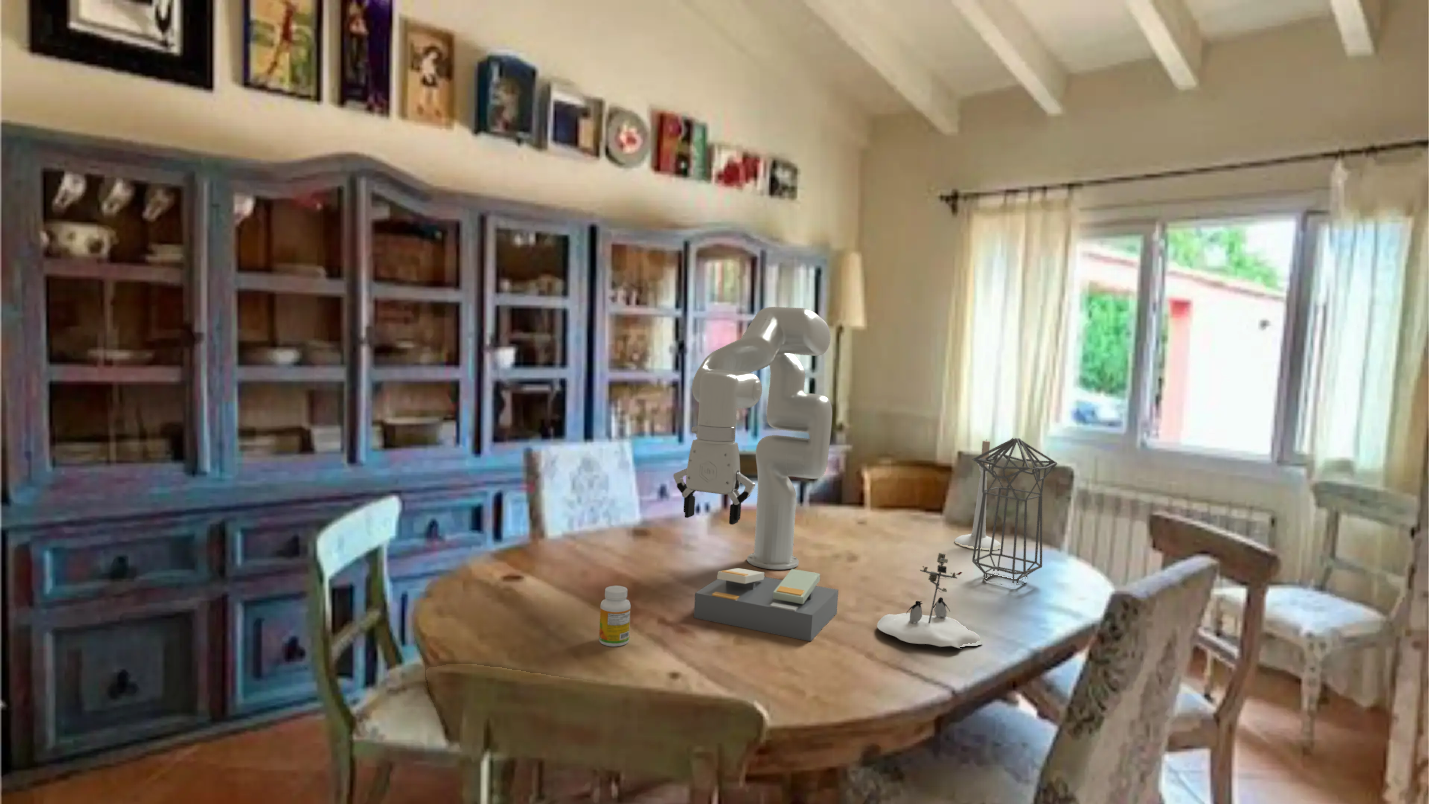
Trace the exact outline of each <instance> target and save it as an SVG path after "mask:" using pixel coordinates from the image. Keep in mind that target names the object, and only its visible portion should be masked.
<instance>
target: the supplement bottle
mask: <svg viewBox="0 0 1429 804" xmlns="http://www.w3.org/2000/svg"><path fill="white" fill-rule="evenodd" d="M627 598H628V588H627V587H626V586H622V585H610V586H607V587H605V589H604V599H603V600H602V601H601V603H600V607H599V609H600V611H599V630H598V631H599V633H598V641H599V643H600V644H602V645H603V646H606V647H613V648H614V647H621V646H625V645H627V644H628V643H629V642H630V626H631V607H632V606H631V602H630V600H629V599H627Z"/></svg>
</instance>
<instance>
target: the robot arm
mask: <svg viewBox="0 0 1429 804" xmlns="http://www.w3.org/2000/svg"><path fill="white" fill-rule="evenodd" d="M830 342H831V331H830V327H829V325H828V323H827V322H826V321H825V320H824V319H823V318H822V317H821V316H819V315H818V314H817V313H816V312H814V311H812V310H810V309H808V308H803V307H789V306H788V307H782V306H767V307H764V308H762V309H760V310H759V311H758V312H757V313H756V314H755V316H754V318H753V319H752V320H751V322H750V324H749V325H748V327H747V328H746V330H745V332H744V333H743V335H742V336H741V338H740V339H738V340H735V341H732V342H730V343H729V344H726V345H725V346H722V347H719V348H717V349H716V350H713V351H712V352H711V353H709V355H707V356H706V357H705V359H704V360H703V361H702V363H701V364H700V365H699V367H698V369H697V371H696V372H695V375H694V377H693V379H692V385H691V392H692V395H693V398H694V399H695V401H696V402H697V403H698V415H697V416H698V417H697V418H698V419H697V424H696V426H692V427H691V434H695V435H696V436H695V438H696V439H693V440H692V443H691V445H690V446H691V447H690V448H689V449H690V450H689V455H688V461H687V467H686V468H684V469H682V470H680V471H677V472H675V473H673V475H672V477H673V479H674V482H675V484H676V488H677V489H678V490H679V492H680V493H681V496H682V497H683V512H684V518H685V519H686V518H687V519H688V518H689V519H690V518H691V517H693V516H695V507H696V506H695V505H696V496H695V495H694V493H696V492H703V493H710V494H716V495H728V497H729V499H730V501H731V502H732V504H730V505H729V506H730V507H729V519H728V521H729V522H728V524H729V525H730V526H731V525H732V526H734V525H735V524H737V523H739V521H740V519H741V512H742V510H741V509H742V503H744V501H745V500H747V499H748V498H749V497H750V496H751V494H752V492H753V490H755V487H756V483H755V482H754V481H752V480H751V479H749V478H748V477H747V476H745V475H744V474H742V473H741V460H740V459H741V458H740V449H739V443H738V442H736V427H737V413H738V412H737V409H749V408H750V409H751V408H752V407H755V405H757V403H759V401H760V399H761V397H762V393H763V386H762V382H761V380H760V378H759V377H758V376H757V374H754V373H753V372H755V371H756V372H757V371H760V370H763V369H765V368H768V366H769V370H770V371H769V372H770V373H769V374H770V376H769V377H770V378H769V379H770V380H769V387H768V388H769V389H768V398H767V404H766V405H767V406H766V421H767V424H768V425H769V426H770V427H771V428H773V429H775V430H779V431H780V430H781V431H786V432H787V431H788V432H797V433H807V434H808V435H809V437H808V438H807V437H806V438H805V437H799V436H798V437H795V436H789V435H788V436H787V435H777V434H776V435H775V434H773V435H767V436H764V437H762V438H760V440H759V441H758V442H757V445H756V448H755V461H756V470H757V471H756V472H757V497H756V498H757V499H756V513H755V516H756V517H755V529H754V530H755V532H754V546H753V547H754V549H753V551H754V552H753V553H750V554H748V555H747V563H748V564H750V565H752V566H753V567H757V568H761V569H766V570H767V569H768V570H779V571H782V570H791V569H795V568H796V567H798V566H799V562H800V561H799V559H798V558H797V557H796V556H794V554H793V553H794V546H795V544H794V539H795V537H794V536H795V524H796V523H795V521H796V507H797V505H796V504H797V503H796V502H797V492H796V488H795V486H794V484H793V482H792V481H791V479H790V477H794V478H795V477H796V478H801V479H802V478H804V479H812V480H813V479H814V480H816V479H820V478H822V477H823V476H824V475H825V473H826V471H827V467H828V461H829V455H830V454H829V452H830V451H829V450H830V444H831V443H830V442H831V433H832V423H833V406H832V404H831V400H830V399H829V398H828V397H827V396H825V395H823V394H819V393H808V392H807V393H805V383H806V382H805V381H806V371H805V368H804V366H803V364H802V362H801V361H800V359H799V358H798V357H797V356H798V355H800V356H813V357H814V356H815V357H818V356H822V355H824V354H825V353H826V352H827V350H828V349H829V347H830ZM684 477H685V481H684ZM741 484H742V485H743V486H744V487H745V488H744V490H743V492H741V493H740V491H739V489H740V485H741Z"/></svg>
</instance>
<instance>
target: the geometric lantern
mask: <svg viewBox="0 0 1429 804" xmlns="http://www.w3.org/2000/svg"><path fill="white" fill-rule="evenodd" d="M1016 445H1017V446H1018V449H1019V452H1020V454H1021V458H1020V457H1015V456H1012V455H1013V454H1014V450H1015V448H1016ZM1024 451H1025V452H1024ZM1033 451H1034V452H1035V453H1036V454H1039V456H1041V457H1043V458H1044V459H1046V460H1040V459H1039V458H1038V457H1037V456H1036V455H1035V453H1034V452H1033ZM1008 452H1009V454H1007V453H1008ZM991 453H992V454H991ZM1025 453H1026V455H1027V457H1028V458H1026V455H1025ZM987 454H989V456H988V457H987V458H985V459H981V458H982V457H984V456H985V455H987ZM1002 458H1005V459H1006V462H1005V464H1004V466H1003V465H1002V466H1001V465H997V464H998V463H999V461H1000V460H1001V459H1002ZM971 460H972V461H973V462H975V463H976V464H977V465H978V464H979V465H980V466H981V467H982V468H983V486H982V493H983V496H982V503H981V509H980V515H979V521H978V527H977V533H976V540H975V546H974V550H973V552H972V559H971V560H972V563H973V564H974V565H975V566H976V567H977V568H978V569H979V570H980V571H981V572H982V574H983V577H985V578H987V577H988V576H991V575H992V577H995V578H1000V579H1005V580H1010V581H1011V584H1012V583H1014V584H1015V582H1016V584H1017V583H1018V584H1019V579H1023V577H1025V578H1026V577H1027V578H1028V575H1030V574H1032V573H1033V572H1035V571H1037V570H1040V569H1042V568H1043V489H1044V484H1045V479H1046V478H1047V477H1048V476H1049V474H1050V473H1051V472H1052V471H1053V469H1054V468H1055V467H1056V466H1057V465H1058V463H1057V461H1055V460H1054V459H1052V458H1050V457H1048V456H1047V455H1045V454H1044V453H1043V452H1041V451H1039V450H1037V449H1036V448H1034V447H1033V446H1032V445H1030V444H1029V443H1026V441H1024V440H1022V439H1021V438H1017V437H1012V438H1010V439H1009V440H1007V441H1005V442H1003V443H1001V444H999V445H997V446H995V447H993V448H990V449H989V451H987V452H985V453H983V454H982V453H981V454H980V455H978V456H975V457H973V458H972V459H971ZM1013 460H1014V461H1015V460H1016V461H1018V462H1021V463H1022V464H1021V465H1022V466H1019V465H1017V464H1016V463H1015V462H1014V461H1013ZM992 461H993V462H992ZM981 462H983V463H981ZM1028 462H1030V463H1031V464H1032V466H1033V467H1030V466H1029V465H1030V464H1029V463H1028ZM985 463H987V464H988V465H989V468H987V467H986V466H985ZM1009 463H1011V465H1013V466H1008V465H1009ZM1038 464H1039V465H1040V466H1041V467H1040V466H1039V465H1038ZM979 465H978V466H979ZM990 465H991V466H990ZM994 468H997V469H1001V470H1002V475H998V474H997V472H996V470H994ZM1006 469H1007V470H1008V469H1009V470H1012V469H1013V470H1017V471H1015V472H1013V473H1012V472H1011V473H1010V474H1008V475H1006V472H1005V470H1006ZM1029 470H1031V471H1029ZM1043 470H1044V472H1043V476H1042V477H1041V471H1043ZM985 471H988V472H987V473H989V474H990V475H991V477H992V478H994V479H993V481H992V482H991V485H990V486H989V488H987V490H984V487H985ZM1020 473H1024V474H1029V475H1032V476H1033V477H1034V480H1035V483H1034V485H1033V487H1032V489H1031V490H1030V491H1029V490H1024V489H1023V490H1022V489H1018V488H1017V489H1016V488H1013V486H1012V484H1013V482H1014V481H1015V480H1016V478H1018V476H1019V475H1020ZM1013 476H1014V477H1013ZM1012 477H1013V478H1012ZM1009 478H1012V479H1011V481H1010V480H1009ZM1001 479H1004V480H1005V481H1006V483H1007V486H1005V487H1004V486H1003V484H1002V482H1001ZM996 480H997V481H998V482H999V484H1000V486H996V487H993V485H994V484H995V482H996ZM1039 482H1041V485H1039ZM1036 486H1037V487H1038V490H1039V492H1036V491H1035V492H1034V489H1035V488H1036ZM993 490H998V493H997V494H996V493H992V492H989V491H993ZM1002 490H1005V491H1006V493H1005V495H1002ZM986 491H987V492H986ZM1009 491H1011V492H1012V493H1013V496H1014V497H1011V496H1009ZM1016 492H1021V493H1028V494H1027V496H1026V498H1020V497H1019V496H1018V495H1017V493H1016ZM986 494H987V495H988V496H995V497H997V500H996V507H995V515H994V521H993V528H992V529H993V530H992V535H991V538H992V541H991V548H990V551H989V553H987V554H985V555H981V551H980V548H981V538H982V529H983V519H984V510H985V500H986V501H987V495H986ZM1031 494H1033V495H1035V496H1032V497H1030V496H1031ZM1001 498H1004V499H1005V502H1004V511H1003V520H1002V531H1001V532H1002V533H1001V542H1000V544H1001V549H1000V550H999V551H1000V552H999V553H994V552H993V551H992V550H993V543H994V539H995V537H996V529H997V522H998V513H999V506H1000V502H1001V501H1000V500H1001ZM1036 498H1038V499H1037V500H1038V502H1037V515H1036V516H1037V519H1036V535H1035V552H1034V560H1029V559H1027V525H1028V524H1027V523H1028V520H1027V518H1028V517H1027V516H1028V515H1027V514H1028V501H1029V500H1033V499H1036ZM1009 499H1011V500H1016V506H1015V520H1014V537H1013V552H1012V556H1011V555H1008V554H1003V552H1004V551H1003V550H1004V541H1005V531H1006V529H1005V528H1006V520H1007V511H1008V500H1009ZM1020 501H1021V502H1024V508H1023V509H1024V510H1023V511H1024V514H1023V516H1024V518H1023V521H1024V522H1023V554H1022V555H1023V557H1022V558H1021V557H1016V553H1017V538H1018V537H1017V536H1018V523H1019V522H1018V521H1019V506H1020V505H1019V502H1020ZM980 523H981V526H980ZM979 529H980V535H979ZM978 536H979V545H978V550H976V548H977V542H978ZM1038 549H1039V550H1038ZM1038 553H1039V562H1038ZM976 555H977V557H976ZM980 555H981V556H980ZM992 556H994V557H998V561H997V566H996V564H995V562H994V558H993V557H992ZM988 557H989V558H990V561H991V562H992V565H990V564H985V563H982V562H980V560H983V559H985V558H988ZM1001 557H1003V558H1008V559H1012V566H1011V567H1012V569H1011V568H1007V567H1003V566H1000V562H1001ZM1016 561H1022V562H1023V567H1022V568H1023V569H1022V570H1017V569H1016ZM1027 563H1029V564H1031V565H1030V566H1029V567H1028V568H1027ZM1034 565H1037V566H1035V567H1033V566H1034ZM983 567H984V568H985V567H986V568H988V569H986V570H984V568H983ZM1026 568H1027V569H1026ZM991 570H992V572H993V571H996V572H997V571H1000V572H1003V573H1008V574H1012V578H1013V579H1011V578H1007V577H1002V576H998V575H999V574H998V575H994V574H995V573H994V574H993V573H989V572H990V571H991ZM1015 575H1018V577H1016V578H1017V579H1014V578H1015ZM983 577H982V578H983Z"/></svg>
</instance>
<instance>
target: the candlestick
mask: <svg viewBox="0 0 1429 804" xmlns="http://www.w3.org/2000/svg"><path fill="white" fill-rule="evenodd" d="M990 446H991V441H990V440H987V439H986V440H982V444H981V454H983V453H985V452H987V451H989V450H990V449H991V448H990ZM988 456H990V453H989V454H987V455H985V456H984V457H982V458H980V459H985V458H987V457H988ZM981 463H983V462H981ZM977 465H978V467H979V469H978V470H979V473H980V476H979V480H978V488H977V494H976V502H975V510H974V517H973V524H972V530H971V533H969V534H962V535H959V536H957V537H956V538H954V540H955V542H958V543H960V544H962V545H968V546H973V547H974V546H975V540H976V533H977V527H978V521H979V515H980V509H981V503H982V496H983V493H982V486H983V468H982V467H981V466H980V465H979V464H978V463H977ZM985 466H986V467H987V468H989V464H987V463H985ZM990 467H992V465H990ZM988 473H989V472H988V471H985V487H984V490H987V489H988V488H987V486H988V477H987V474H988ZM986 492H987V491H986ZM987 495H988V494H986V496H987ZM986 519H987V499H986V500H985V510H984V519H983V529H982V538H981V547H982V548H991V541H992V536H988V535H987V534H986V533H987V532H986V530H987V529H986V525H987V523H986V522H987V521H986ZM980 526H981V523H980ZM979 535H980V529H979ZM978 545H979V536H978V542H977V547H978ZM998 545H1001V542H1000V541H998V540H997V539H995V538H994V543H993V547H996V546H998Z"/></svg>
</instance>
